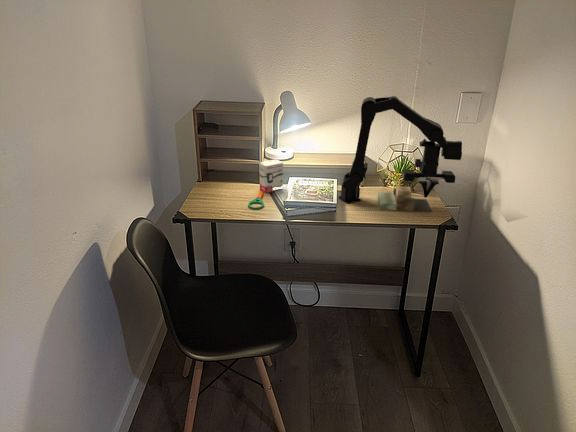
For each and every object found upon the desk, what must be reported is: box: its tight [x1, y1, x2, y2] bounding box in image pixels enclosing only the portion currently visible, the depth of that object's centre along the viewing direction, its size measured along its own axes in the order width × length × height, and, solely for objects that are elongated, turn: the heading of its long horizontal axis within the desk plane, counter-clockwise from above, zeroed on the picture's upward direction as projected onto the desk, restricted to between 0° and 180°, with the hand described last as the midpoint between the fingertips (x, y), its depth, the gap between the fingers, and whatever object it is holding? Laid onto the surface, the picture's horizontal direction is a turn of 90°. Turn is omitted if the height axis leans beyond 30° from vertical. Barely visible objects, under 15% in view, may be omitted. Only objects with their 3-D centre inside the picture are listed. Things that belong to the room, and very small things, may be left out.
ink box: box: [258, 158, 284, 194], centre depth 200 cm, size 8×5×12 cm, turn 123°
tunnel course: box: [376, 187, 432, 213], centre depth 189 cm, size 19×11×4 cm, turn 86°
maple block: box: [395, 185, 413, 199], centre depth 188 cm, size 5×5×4 cm
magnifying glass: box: [247, 190, 265, 210], centre depth 191 cm, size 15×6×2 cm, turn 173°
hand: (425, 197), depth 188 cm, fingers closed
